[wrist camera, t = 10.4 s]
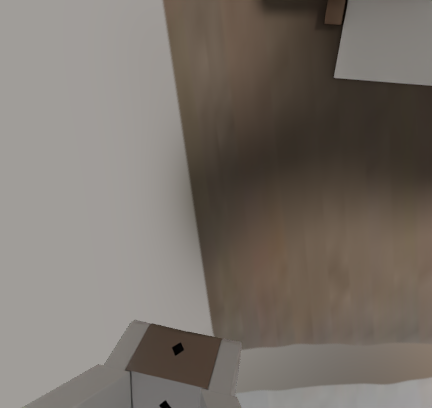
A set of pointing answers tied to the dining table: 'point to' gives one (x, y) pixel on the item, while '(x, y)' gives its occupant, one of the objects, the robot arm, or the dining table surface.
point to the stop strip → (334, 12)
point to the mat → (386, 42)
